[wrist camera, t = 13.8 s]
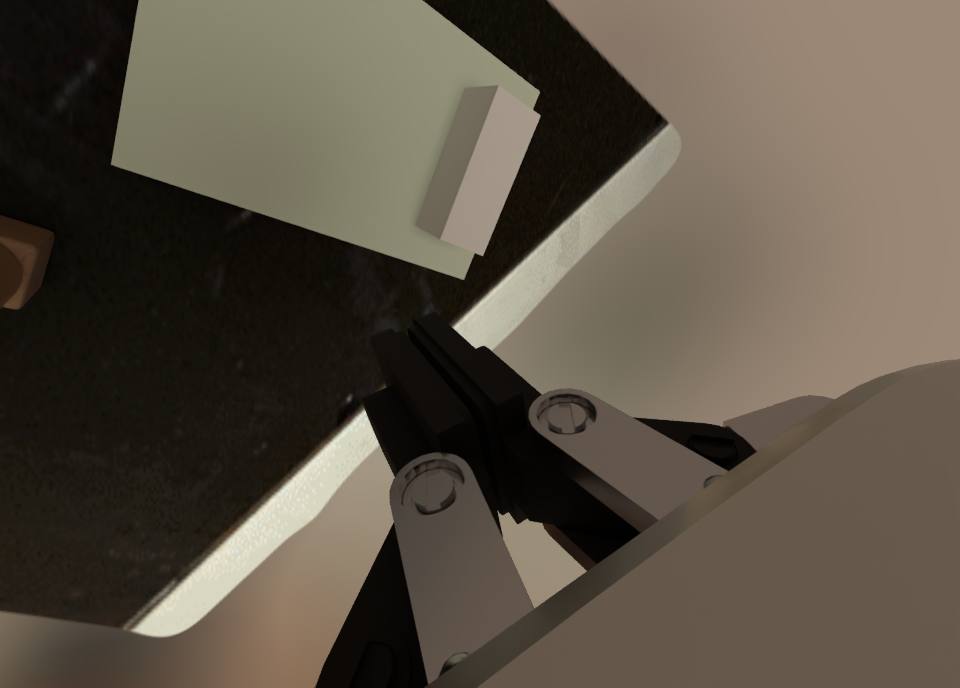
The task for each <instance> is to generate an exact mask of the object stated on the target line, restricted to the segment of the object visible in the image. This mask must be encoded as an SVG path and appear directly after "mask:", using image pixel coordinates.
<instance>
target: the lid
mask: <svg viewBox="0 0 960 688" xmlns="http://www.w3.org/2000/svg"><path fill="white" fill-rule="evenodd" d="M539 93H540V92H539V91H538V90H537V89H536V88H534V87H533V86H532V85H530V84H529V83H528V82H527V81H525V80H524V79H523V78H521V77H520V76H519V75H518V74H516V73H515V72H514V71H512V70H511V69H510V68H509V67H507V66H506V65H505V64H503V63H502V62H501V61H500V60H498V59H497V58H496V57H494V56H493V55H492V54H491V53H489V52H488V51H487V50H485V49H484V48H483V47H482V46H480V45H479V44H478V43H476V42H475V41H474V40H473V39H471V38H470V37H469V36H467V35H466V34H465V33H464V32H462V31H461V30H460V29H458V28H457V27H456V26H455V25H453V24H452V23H451V22H449V21H448V20H447V19H446V18H444V17H443V16H442V15H440V14H439V13H438V12H437V11H435V10H434V9H433V8H431V7H430V6H429V5H428V4H426V3H425V2H424V1H422V0H139V2H138V8H137V14H136V20H135V26H134V32H133V38H132V44H131V49H130V55H129V61H128V67H127V73H126V79H125V85H124V91H123V97H122V103H121V109H120V115H119V121H118V127H117V133H116V138H115V144H114V150H113V156H112V162H111V165H114V166H117V167H120V168H123V169H126V170H129V171H132V172H135V173H138V174H141V175H144V176H147V177H150V178H153V179H156V180H160V181H163V182H166V183H169V184H172V185H175V186H178V187H181V188H184V189H187V190H190V191H193V192H196V193H199V194H202V195H206V196H209V197H212V198H215V199H218V200H221V201H224V202H227V203H230V204H233V205H236V206H239V207H242V208H245V209H248V210H252V211H255V212H258V213H261V214H264V215H267V216H270V217H273V218H276V219H279V220H282V221H285V222H288V223H291V224H294V225H298V226H301V227H304V228H307V229H310V230H313V231H316V232H319V233H322V234H325V235H328V236H331V237H334V238H337V239H340V240H344V241H347V242H350V243H353V244H356V245H359V246H362V247H365V248H368V249H371V250H374V251H377V252H380V253H383V254H386V255H389V256H393V257H396V258H399V259H402V260H405V261H408V262H411V263H414V264H417V265H420V266H423V267H426V268H429V269H432V270H435V271H439V272H442V273H445V274H448V275H451V276H454V277H457V278H460V279H463V280H464V278H465V275H466V273H467V270H468V268H469V265H470V263H471V261H472V258H473V256H474V253H477V254H479V255H482V256H483V254H484V252H485V249H486V247H487V245H488V242H489V240H490V237H491V235H492V232H493V230H494V228H495V225H496V223H497V220H498V218H499V215H500V213H501V211H502V208H503V206H504V203H505V201H506V198H507V196H508V194H509V191H510V189H511V186H512V184H513V181H514V179H515V177H516V174H517V172H518V169H519V167H520V164H521V162H522V160H523V157H524V155H525V152H526V150H527V147H528V145H529V143H530V140H531V138H532V135H533V133H534V130H535V128H536V126H537V123H538V121H539V118H540V115H539V114H538V113H536V112H535V111H534V110H533V108H534V105H535V103H536V100H537V98H538V95H539Z"/></svg>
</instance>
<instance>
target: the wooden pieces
mask: <svg viewBox="0 0 960 688" xmlns="http://www.w3.org/2000/svg"><path fill="white" fill-rule="evenodd" d="M54 240H55V235H54V233H53V232H51V231H50V230H47V229H44V228H41V227H38V226H34V225H31V224H28V223H25V222H21V221H18V220H15V219H12V218H8V217H5V216H2V215H0V308H1V307H5V308H10V309H20V308H21V307H23V306H24V305H25V303H26V302H27V301H28V300H29V299H30V298H31V297H32V296H33V295H34V293H35V292H36V291H37V290H38V289H39V288H40V287H41V284H42V281H43V277H44V274H45V271H46V267H47V264H48V260H49V257H50V254H51V250H52V247H53V243H54Z"/></svg>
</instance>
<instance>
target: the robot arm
mask: <svg viewBox="0 0 960 688" xmlns="http://www.w3.org/2000/svg"><path fill="white" fill-rule="evenodd" d="M413 325H414V326H412V327H409V328H408V335H409V338H410V339H409V338H408V337H407V336H406V334H405V333H404V332H403V331H399V332H397V333H395V332H394V330H393V329H392V328H391V329H388V330H385V331H383V332H380V333H378V334H375V335H372V336H370V341H371V344H372V347H373V350H374V353H375V356H376V359H377V361H378V364H379V367H380V370H381V373H382V376H383V378H384V381H385V384H386V387H387V388H384V389H382V390H380V391H377V392H375V393H373V394H371V395H368V396H366V397H364V398H361V401H362V403H363V406H364V408H365V411H366V413H367V416H368V418H369V421H370V423H371V426H372V428H373V430H374V433H375V435H376V437H377V440H378V442H379V444H380V447H381V449H382V451H383V453H384V455H385V457H386V459H387V461H388V464H389V466H390V468H391V470H392V472H393V474H394V476H395V478H394V480H393V482H392V485H391V488H390V506H391V510H392V515H393V519H394V523H393V525H392V527H391V529H390V531H389V533H388V535H387V538H386V539H385V541H384V543H383V545H382V548H381V549H380V551H379V553H378V555H377V557H376V559H375V562H374V563H373V566H372V568H371V570H370V572H369V574H368V576H367V578H366V580H365V582H364V584H363V586H362V588H361V590H360V592H359V594H358V596H357V598H356V600H355V602H354V604H353V606H352V608H351V610H350V612H349V614H348V616H347V618H346V620H345V622H344V625H343V627H342V629H341V631H340V633H339V635H338V637H337V639H336V641H335V643H334V645H333V647H332V649H331V651H330V653H329V655H328V657H327V659H326V661H325V663H324V665H323V668H322V671H321V674H320V676H319V679H318V682H317V684H316V686H315V687H314V688H960V359H959V360H947V361H941V362H935V363H930V364H924V365H919V366H914V367H910V368H906V369H903V370H900V371H896V372H893V373H890V374H887V375H884V376H881V377H878V378H875V379H873V380H871V381H869V382H866V383H864V384H862V385H859V386H857V387H855V388H854V389H852V390H850V391H848V392H847V393H845V394H843V395H842V396H840V397H838V398H836V399H831V398H827V397H822V396H811V395H809V396H802V397H797V398H794V399H791V400H788V401H785V402H782V403H779V404H776V405H773V406H770V407H767V408H764V409H760V410H757V411H754V412H751V413H748V414H745V415H742V416H739V417H736V418H733V419H730V420H727V421H724V422H723V426H722V427H721V426H718V425H712V424H706V423H695V422H683V421H670V420H657V419H645V418H633V417H631V416H629V415H627V414H625V413H624V412H622V411H620V410H618V409H616V408H614V407H613V406H611V405H609V404H608V403H606V402H604V401H602V400H600V399H599V398H597V397H595V396H593V395H591V394H589V393H587V392H584V391H582V390H576V389H558V390H554V391H549V392H547V393H545V394H543V395H542V394H540V393H539V392H538V391H537V390H536V389H535V388H533V387H532V386H531V385H530V384H529V383H527V381H525V380H524V379H523V378H522V377H521V376H520V375H518V374H517V373H516V372H515V371H514V370H513V369H512V368H510V367H509V366H508V365H507V364H506V363H505V362H504V361H502V360H501V359H500V358H499V357H498V356H497V355H495V354H494V353H493V352H492V351H491V350H490V349H489V348H487V347H485V346H481V347H479V348H476V349H475V348H474V347H473V346H472V345H471V344H470V343H469V342H467V341H466V340H465V339H464V338H463V337H462V336H461V335H460V334H459V333H458V332H457V331H455V330H454V329H453V328H452V327H451V326H450V325H449V324H448V323H447V322H446V321H444V320H443V319H442V318H441V317H440V316H439V315H438V314H437V313H436V312H432V313H429V314H427V315H424V316H422V317H419V318H417V319H414V320H413ZM497 510H498V511H499V513H500V514H501V515H504V514H506V513H508V512H509V513H510V514H511V516H512V517H513V519H514V520H515V522H516V523H517V524H519V523H521V522H522V521H524V520H526V519H527V518H528V520H529V521H533V522H540V523H543V526H544V529H545V530H546V531H547V533H548V534H549V535H550V536H551V537H552V538H553V539H554V540H555V541H556V542H557V543H558V544H559V545H560V546H561V547H562V548H563V549H564V550H565V551H567V552H568V553H569V554H570V555H571V556H572V557H573V558H574V559H575V560H576V561H577V562H578V563H579V564H580V565H581V566H582V567H583V568H584V569H585V570H586V571H587V572H586V573H584V574H583V575H581V576H580V577H578V578H577V579H576V580H574V581H573V582H572V583H570V584H569V585H567V586H566V587H564V588H563V589H562V590H560V591H559V592H557V593H556V594H555V595H553V596H552V597H550V598H549V599H548V600H546V601H545V602H544V603H542V604H541V605H539V606H538V607H536V608H535V609H534V606H533V604H532V602H531V600H530V598H529V595H528V593H527V591H526V589H525V587H524V584H523V582H522V580H521V578H520V575H519V573H518V571H517V569H516V567H515V565H514V562H513V560H512V558H511V556H510V553H509V551H508V549H507V547H506V545H505V542H504V540H503V536H502V531H501V526H500V522H499V517H498V512H497Z"/></svg>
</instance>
